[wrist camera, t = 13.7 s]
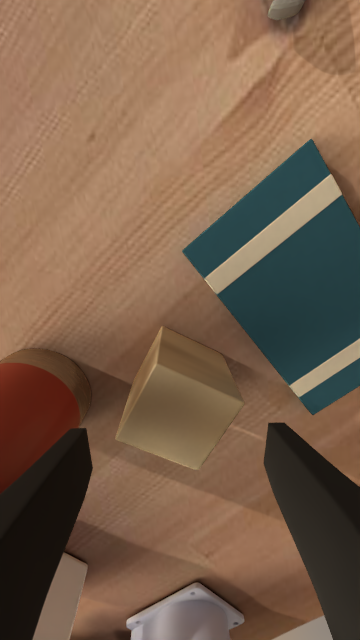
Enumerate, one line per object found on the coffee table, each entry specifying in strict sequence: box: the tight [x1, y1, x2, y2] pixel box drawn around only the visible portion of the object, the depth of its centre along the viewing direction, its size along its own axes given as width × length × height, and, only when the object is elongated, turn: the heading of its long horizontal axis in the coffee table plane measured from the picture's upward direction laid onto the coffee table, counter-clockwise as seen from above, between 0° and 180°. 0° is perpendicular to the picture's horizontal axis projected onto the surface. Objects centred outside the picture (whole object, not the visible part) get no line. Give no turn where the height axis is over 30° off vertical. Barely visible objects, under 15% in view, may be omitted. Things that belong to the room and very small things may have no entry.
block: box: [116, 326, 244, 470], centre depth 12 cm, size 4×4×5 cm
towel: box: [182, 139, 360, 415], centre depth 13 cm, size 8×14×1 cm, turn 40°
